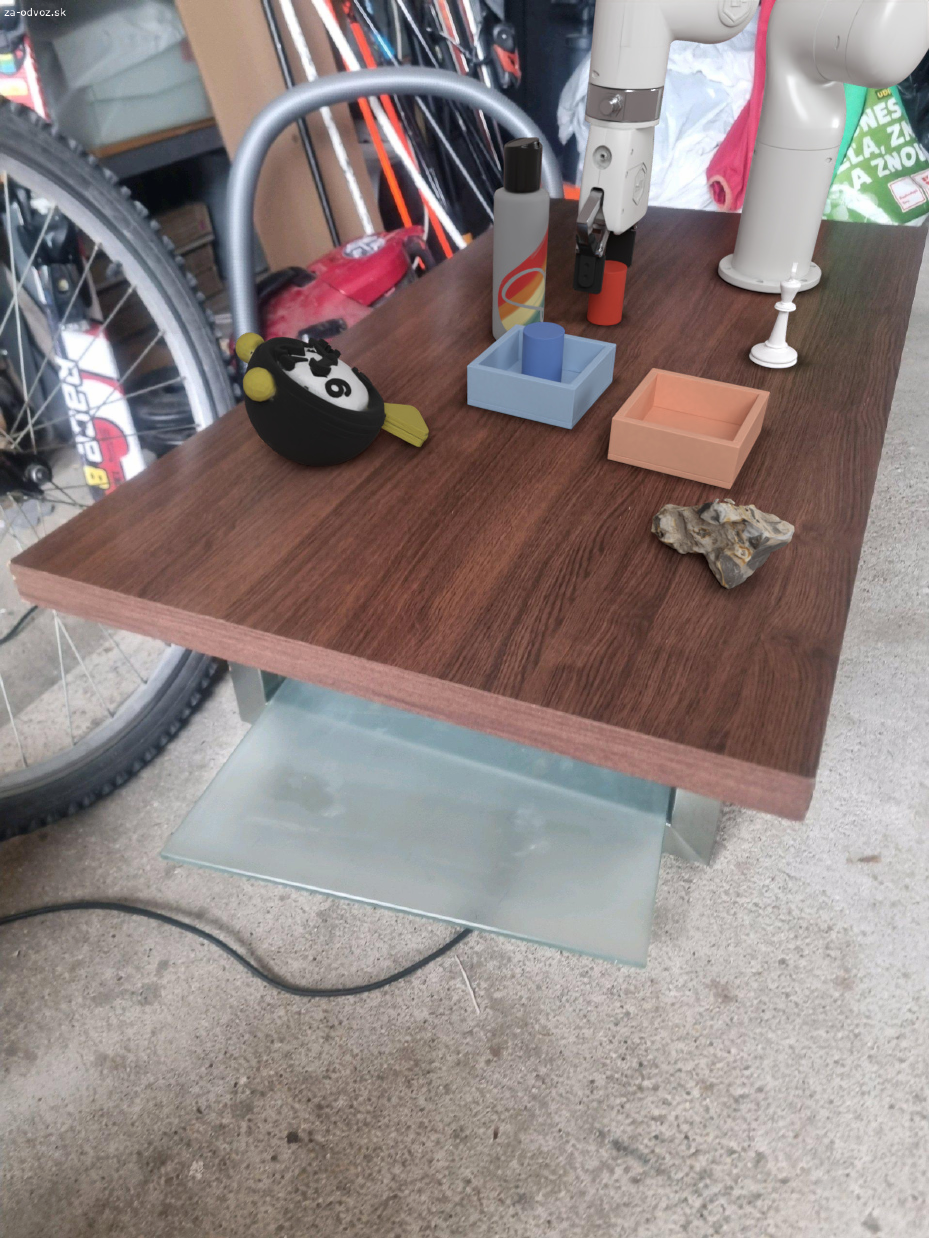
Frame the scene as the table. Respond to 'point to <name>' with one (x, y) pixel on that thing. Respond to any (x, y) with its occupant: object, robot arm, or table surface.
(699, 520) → the rock
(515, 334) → the blue bin
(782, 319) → the chess piece
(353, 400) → the alarm clock
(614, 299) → the red peg
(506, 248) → the lotion bottle
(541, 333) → the blue peg
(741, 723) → the table surface
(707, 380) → the orange bin
